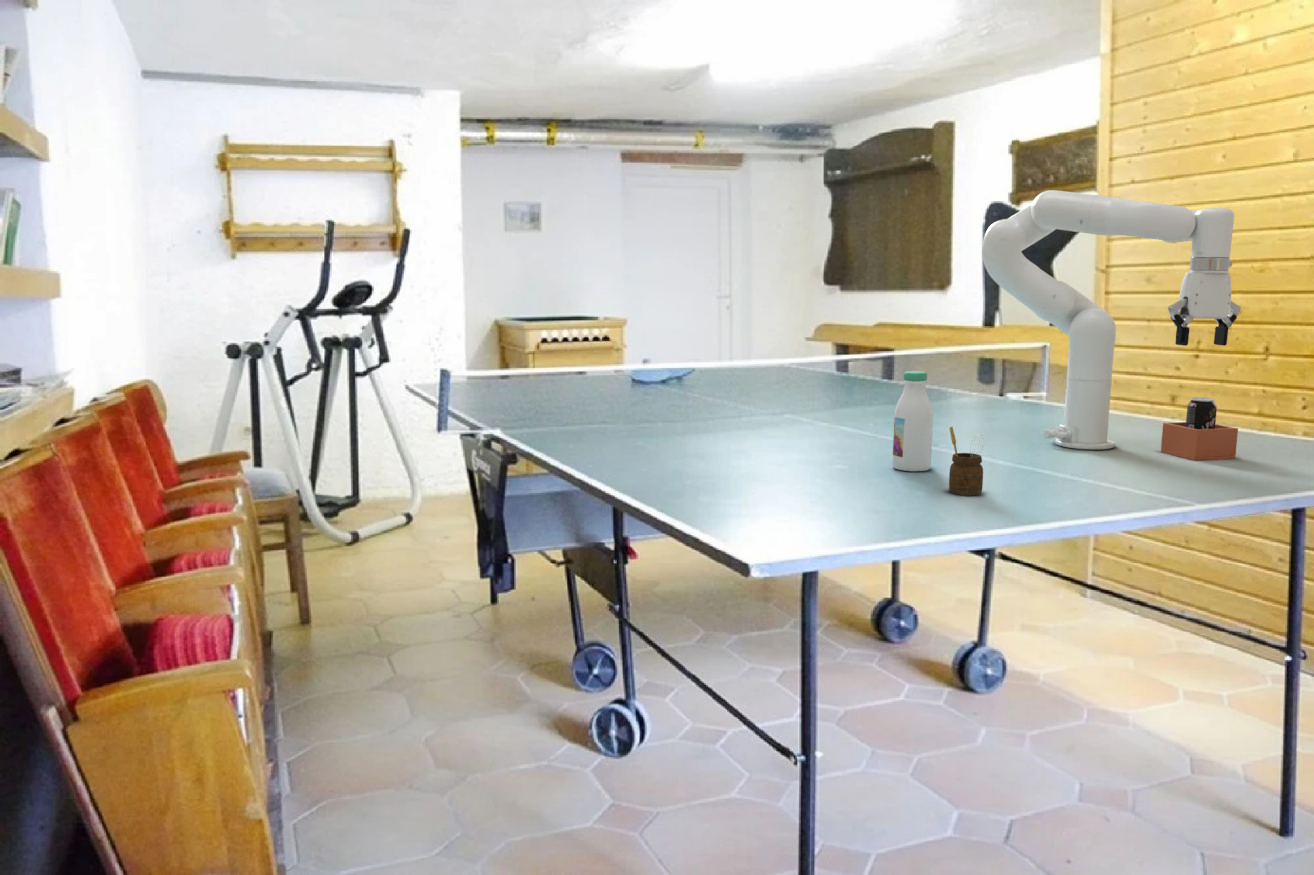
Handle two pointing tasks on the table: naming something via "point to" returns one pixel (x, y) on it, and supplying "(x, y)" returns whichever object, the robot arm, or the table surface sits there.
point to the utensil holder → (965, 471)
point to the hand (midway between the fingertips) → (1200, 345)
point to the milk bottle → (913, 425)
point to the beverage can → (1201, 413)
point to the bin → (1199, 441)
